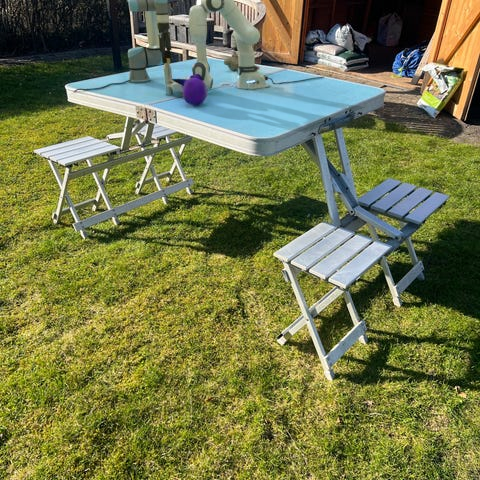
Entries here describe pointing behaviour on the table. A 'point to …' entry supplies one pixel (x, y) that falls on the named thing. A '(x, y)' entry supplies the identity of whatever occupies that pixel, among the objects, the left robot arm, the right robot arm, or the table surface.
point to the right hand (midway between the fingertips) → (167, 84)
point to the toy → (193, 89)
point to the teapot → (232, 62)
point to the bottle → (168, 78)
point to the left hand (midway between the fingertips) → (166, 62)
